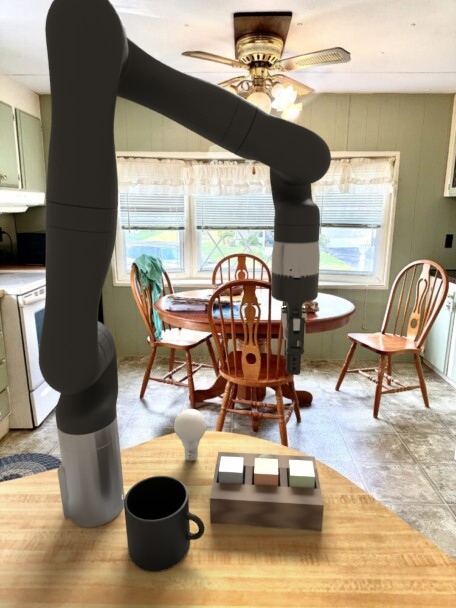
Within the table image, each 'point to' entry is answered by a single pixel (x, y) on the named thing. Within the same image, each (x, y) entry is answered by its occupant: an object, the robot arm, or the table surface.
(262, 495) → the console
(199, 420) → the lightbulb
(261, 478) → the terracotta button
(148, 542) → the mug
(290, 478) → the sage button
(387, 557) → the table surface
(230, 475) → the slate button
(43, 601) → the table surface
